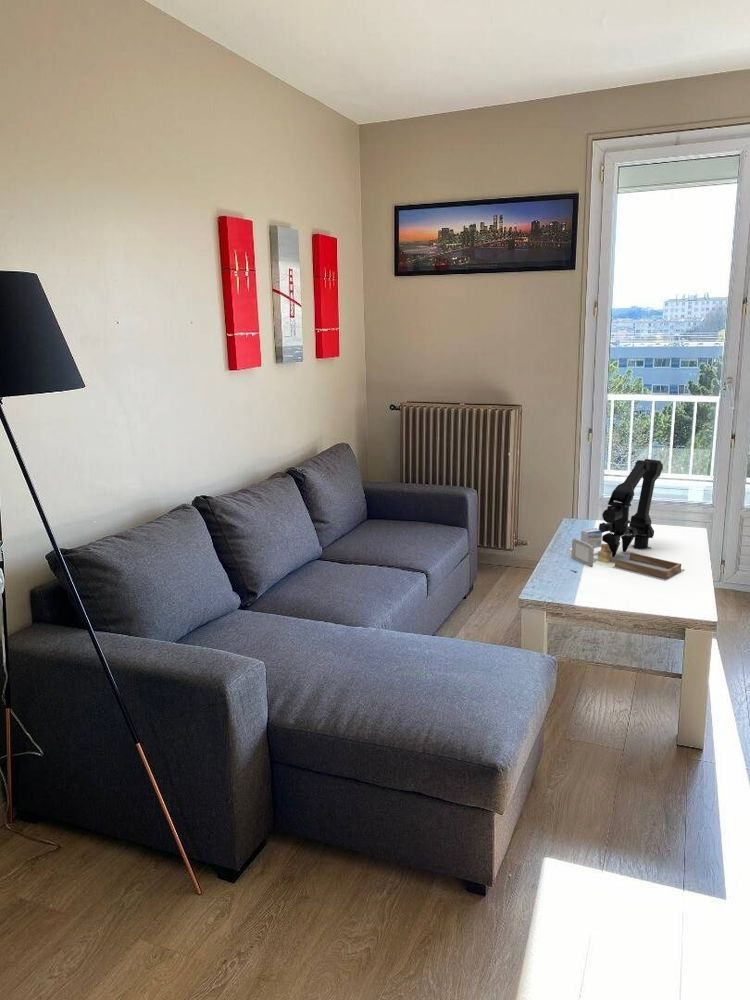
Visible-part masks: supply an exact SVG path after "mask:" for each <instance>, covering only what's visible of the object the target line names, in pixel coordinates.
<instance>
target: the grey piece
mask: <svg viewBox="0 0 750 1000" xmlns="http://www.w3.org/2000/svg"><path fill="white" fill-rule="evenodd" d="M571 542H572V543H571V547H572V550H571V551H572V556H571V558H573V560H576V561H578V562H579V563H582V564H584V565H586V566H589V567H593V566H594V563H593V558H594V556H593V555H594V554H595V553H594V552H595V548H593V546H592V545H590V544H587V543H585V542H583V541H581V539H578V538H573V539H572V541H571ZM570 571H571V572H573V573H578V571H577V570H572V569H570Z"/></svg>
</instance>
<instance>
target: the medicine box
mask: <svg viewBox="0 0 750 1000" xmlns="http://www.w3.org/2000/svg"><path fill="white" fill-rule="evenodd" d="M602 536H603V533H602V532H601V531H600V530H599V527H598V528H597V527H594V528H589V529H582V530H581V533H580V541H583V542H585V543H587V544H590V545H592V546H593V548H594V549H596V548H601V544H603V541H602Z"/></svg>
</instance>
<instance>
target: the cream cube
mask: <svg viewBox="0 0 750 1000" xmlns="http://www.w3.org/2000/svg"><path fill="white" fill-rule="evenodd" d="M571 550H572V546H571V547H569V549H568V556H572V551H571Z"/></svg>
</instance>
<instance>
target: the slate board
mask: <svg viewBox="0 0 750 1000" xmlns="http://www.w3.org/2000/svg"><path fill="white" fill-rule="evenodd" d="M595 556H598V552H595V553H594V555H593V564H595V565H599V566H604V567H607V568H611V569H616V570H620V571H623V572H626V573H627V572H628V573H631V574H636V575H638V576H643V577H648V578H651V579H654V580H655V579H656V580H659V581H664V582H667V581H669V580H670V579H672V578H674V577H676V576H677V575H680V574H681V573H682V572H685V571H686V569H684V568H683V569H682V568H681V571H680V572H678V573H677V574H675V575H673V576H671V577H669V578H668V579H662V578H658V577H654V576H650V575H646V574H642V573H638V572H634V571H630V570H626V569H622V568H618V567H615V560H616V559H617V560H621V561H626V562H630V563H634V564H638V565H642V566H646V567H651V568H655V569H659V570H663V571H666V570H668V569H666V568H662V567H658V566H653V565H649V564H645V563H641V562H636V561H632V560H629V558H630V556H627V555H623V554H619V553H616V555H615V557H612V561H610V562H607V563H605V562H601V561H598V558H595Z"/></svg>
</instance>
